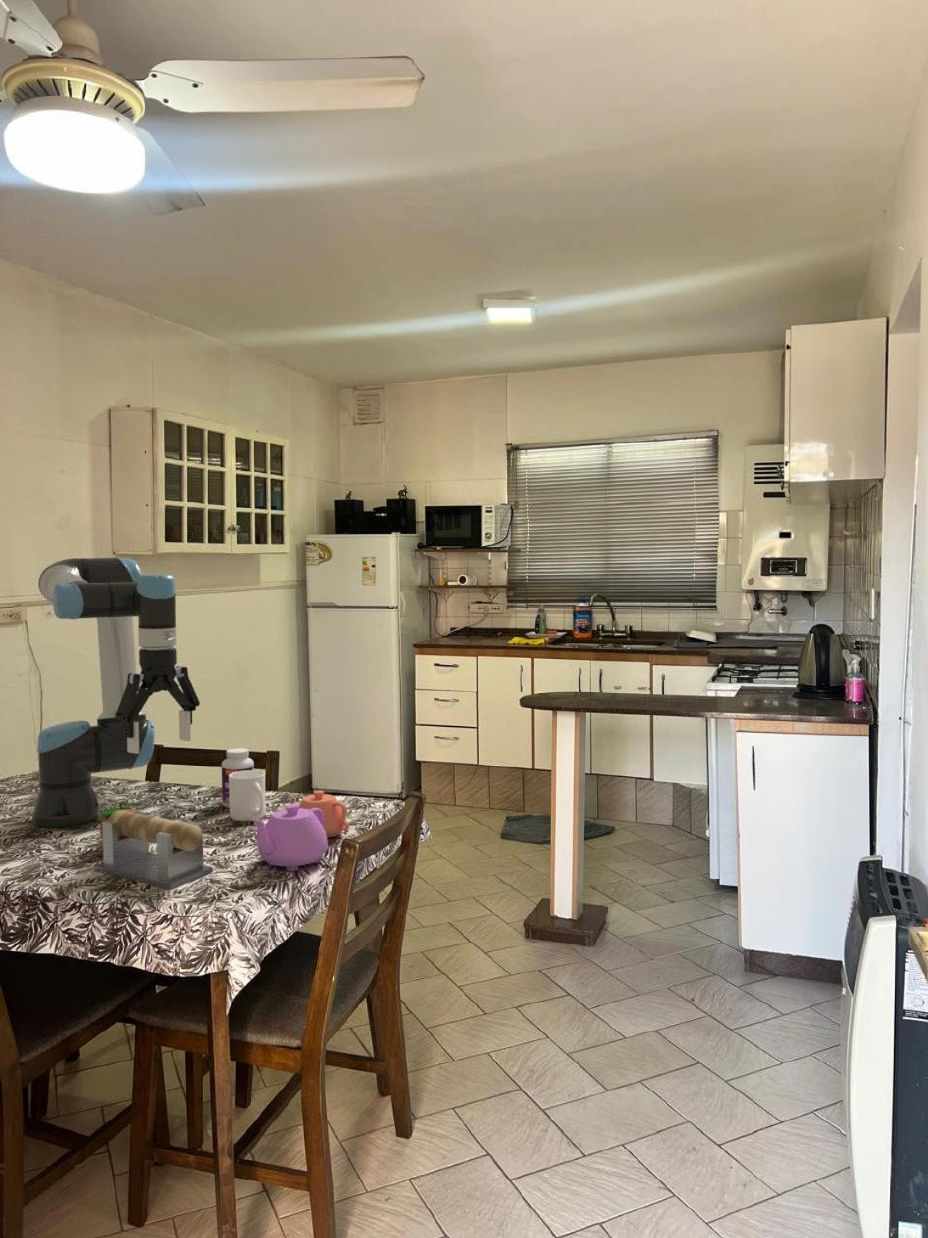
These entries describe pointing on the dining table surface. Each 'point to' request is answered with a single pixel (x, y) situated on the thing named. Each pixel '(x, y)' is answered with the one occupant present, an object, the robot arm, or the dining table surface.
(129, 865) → the bracket stand
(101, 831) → the fruit
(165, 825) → the baguette
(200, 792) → the dining table surface
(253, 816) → the mug
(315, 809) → the teapot
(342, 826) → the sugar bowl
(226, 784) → the pill bottle
